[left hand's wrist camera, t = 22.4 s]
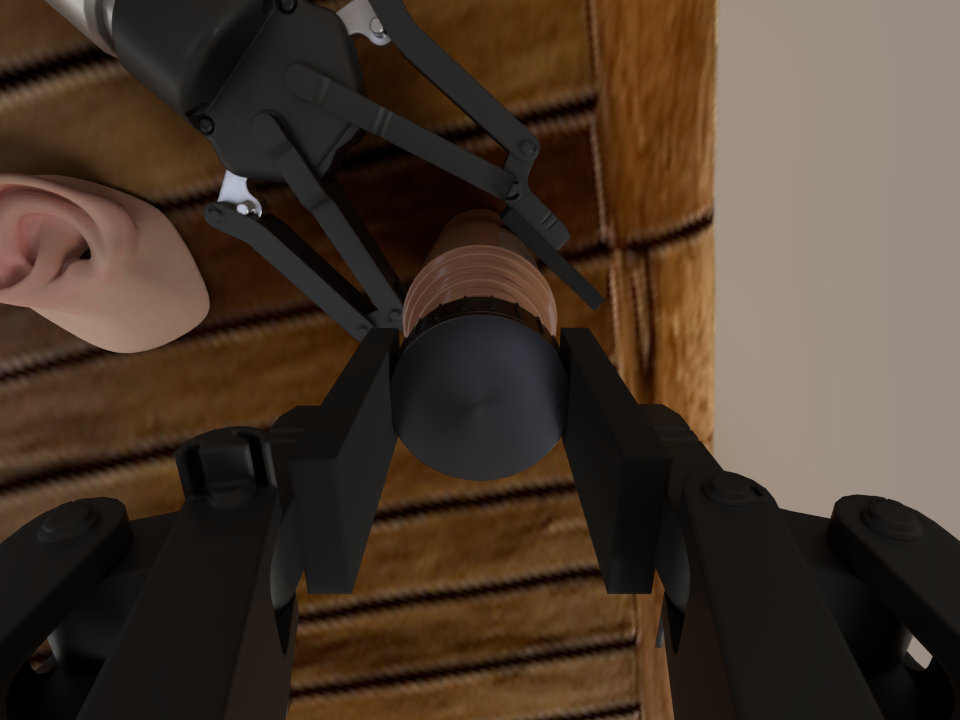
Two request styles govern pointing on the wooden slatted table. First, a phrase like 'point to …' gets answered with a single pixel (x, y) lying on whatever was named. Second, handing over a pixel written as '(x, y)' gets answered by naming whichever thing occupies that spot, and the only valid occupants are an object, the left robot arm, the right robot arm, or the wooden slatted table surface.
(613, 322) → the wooden slatted table surface
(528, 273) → the bottle
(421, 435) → the cap
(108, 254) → the anatomical model
